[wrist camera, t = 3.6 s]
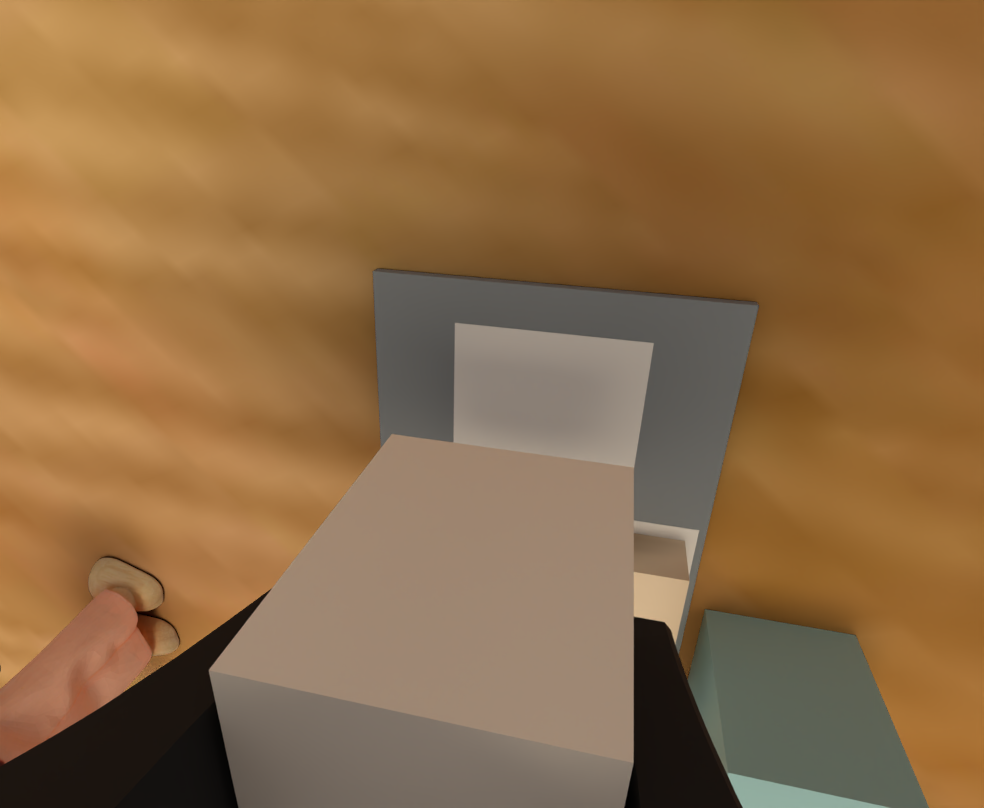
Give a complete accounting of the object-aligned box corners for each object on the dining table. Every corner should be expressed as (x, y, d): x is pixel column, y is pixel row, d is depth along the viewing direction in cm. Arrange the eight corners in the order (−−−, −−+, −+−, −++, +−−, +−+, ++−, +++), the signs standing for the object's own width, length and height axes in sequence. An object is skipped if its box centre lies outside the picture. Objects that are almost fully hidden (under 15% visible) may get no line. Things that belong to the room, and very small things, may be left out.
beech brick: (684, 540, 16) (689, 581, 15) (656, 675, 19) (658, 721, 17) (399, 496, 18) (378, 529, 16) (403, 626, 20) (385, 665, 18)
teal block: (855, 634, 17) (932, 817, 13) (816, 732, 19) (873, 923, 14) (704, 608, 18) (728, 772, 13) (681, 704, 19) (694, 879, 15)
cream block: (634, 467, 10) (633, 764, 5) (604, 653, 11) (584, 996, 7) (392, 434, 10) (209, 670, 6) (397, 614, 12) (259, 904, 8)
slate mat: (756, 302, 14) (758, 306, 14) (660, 725, 20) (660, 734, 20) (377, 268, 15) (372, 271, 15) (394, 670, 21) (391, 678, 21)
